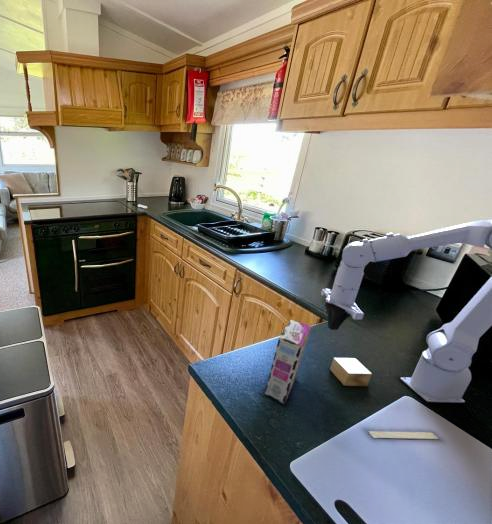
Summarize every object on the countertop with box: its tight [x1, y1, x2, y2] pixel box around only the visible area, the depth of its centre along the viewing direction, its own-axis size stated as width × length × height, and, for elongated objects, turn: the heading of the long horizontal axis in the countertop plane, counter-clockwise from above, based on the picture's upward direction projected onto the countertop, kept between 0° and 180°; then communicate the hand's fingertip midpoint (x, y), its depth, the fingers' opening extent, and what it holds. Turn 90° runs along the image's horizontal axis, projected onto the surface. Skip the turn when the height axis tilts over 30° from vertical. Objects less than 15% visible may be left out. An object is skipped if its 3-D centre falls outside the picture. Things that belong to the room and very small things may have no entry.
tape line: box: [367, 430, 439, 440], centre depth 61 cm, size 14×2×1 cm, turn 91°
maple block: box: [329, 357, 373, 387], centre depth 76 cm, size 6×6×4 cm
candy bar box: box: [264, 319, 312, 405], centre depth 70 cm, size 11×5×16 cm, turn 141°
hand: (332, 328), depth 83 cm, fingers closed
